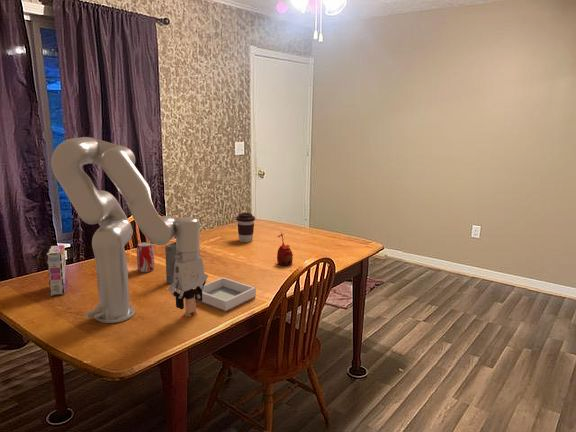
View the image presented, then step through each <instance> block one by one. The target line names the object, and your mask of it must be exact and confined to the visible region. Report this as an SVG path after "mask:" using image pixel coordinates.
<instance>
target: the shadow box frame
mask: <svg viewBox="0 0 576 432" xmlns="http://www.w3.org/2000/svg"><path fill="white" fill-rule="evenodd" d="M203 287H204V289H203V290H202V301H199V300H196V299H195V302H199V303H201V304H203V305H205V306H209V307H212V308H214V309H217V310H219V311H221V310H222V312H224V311H225V312H224V313H227V311H228V312H229V310H230V311H232V310H233V309H232V308H234V309H236V308H238V307H239V306H238V305H240V306H241V304H242V305H243V303H244V304H246V303H248V302H249V301H248V300H250V299H252V298H254V297H257V293H256V292H257V291H256V290H257V288H256V287H254V286H251V285H248V284H245V283H242V282H239V281H236V280H233V279H230V278H226V277H224V276H222V277H220V278H217V279H215V280H213V281H210V282H206V283H205V285H204V286H203ZM194 297H195V294H194ZM254 299H255V298H254ZM252 300H253V299H252ZM247 301H248V302H247ZM250 301H251V300H250ZM245 302H246V303H245ZM237 306H238V307H237ZM235 307H236V308H235ZM231 309H232V310H231Z"/></svg>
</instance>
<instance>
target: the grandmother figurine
mask: <svg viewBox="0 0 576 432" xmlns="http://www.w3.org/2000/svg"><path fill="white" fill-rule="evenodd" d="M194 294H195V295H196V296H197V297H198V299H200V298H201V297H200V295H199V293H198V292H197V291H196V290H195V288H193V289H191V290H188V291H184V293H183V296H182V298H184V305H185V306H184V309H185V313H184V314H183V315H184V316H186V317H192V315H193V316H194V315H197V314H198V312H197V303H196V302H197V301H195V297H194Z"/></svg>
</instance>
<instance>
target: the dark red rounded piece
mask: <svg viewBox="0 0 576 432" xmlns="http://www.w3.org/2000/svg"><path fill="white" fill-rule="evenodd" d="M283 235H284V233H283V232H282V231H280V234H278V235H277V237H278V238H281V240H282V244H281V245H280V246H279V247H278V249H277V253H276V261H277V263H279V264H278V265H280V266H288V264H290V265H292V264H293V259H294V257H293V256H294V254H293V251H292V249H291V248H290V247H291V246H290V245H289V244H285V243H284V240H285V239H284V237H283ZM291 263H292V264H291Z"/></svg>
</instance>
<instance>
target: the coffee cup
mask: <svg viewBox="0 0 576 432" xmlns="http://www.w3.org/2000/svg"><path fill="white" fill-rule="evenodd" d="M255 220H256V217H255V216H254V215H253V213H251V212H242V213H239V215H238V216H236V221H237V234H238V241H239V242H240V243H244V242H247V243H252V242H253V237H254V229H255V228H254V226H255V223H254V221H255Z"/></svg>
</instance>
